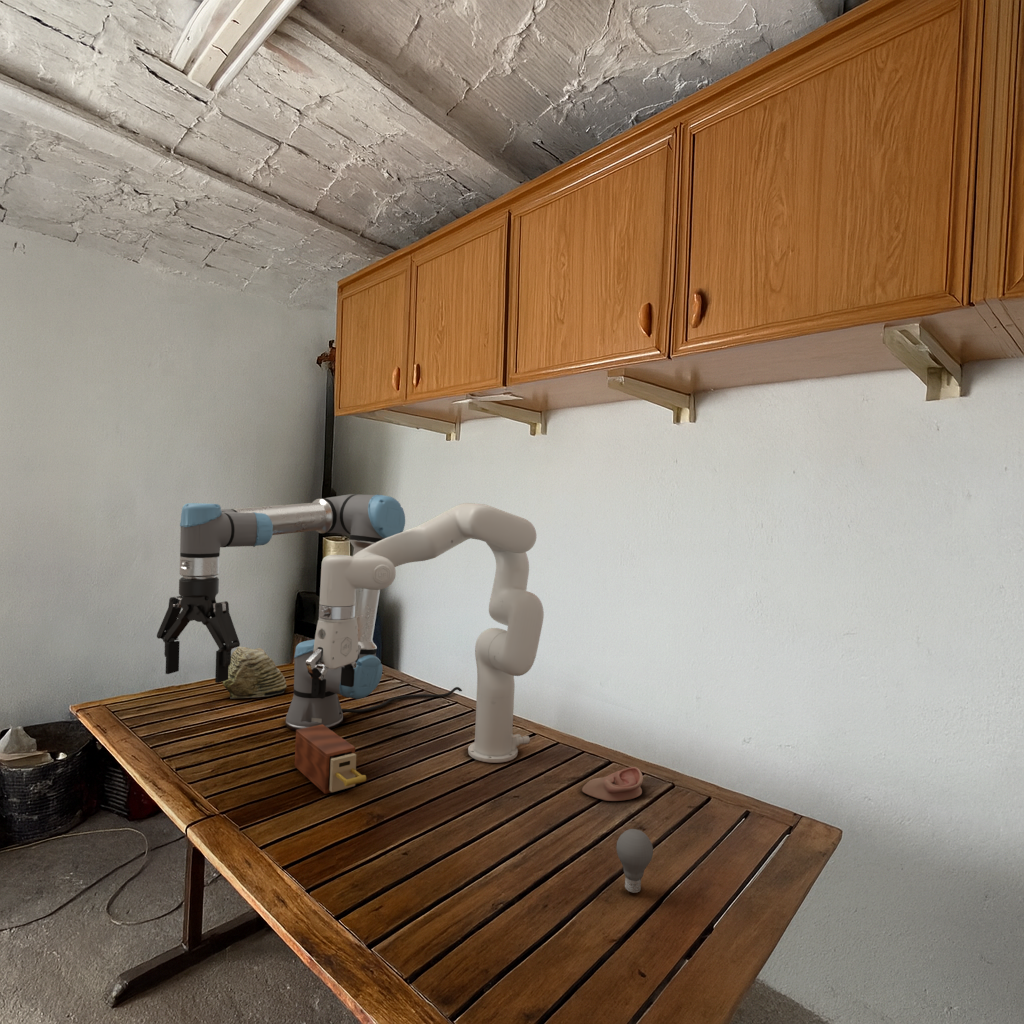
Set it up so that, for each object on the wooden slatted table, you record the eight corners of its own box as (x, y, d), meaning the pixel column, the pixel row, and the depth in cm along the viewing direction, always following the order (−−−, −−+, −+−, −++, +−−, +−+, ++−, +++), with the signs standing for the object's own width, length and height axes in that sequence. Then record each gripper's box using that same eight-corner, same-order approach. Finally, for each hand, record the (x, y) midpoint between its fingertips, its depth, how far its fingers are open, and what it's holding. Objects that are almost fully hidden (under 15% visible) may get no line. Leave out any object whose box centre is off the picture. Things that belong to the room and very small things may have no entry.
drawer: (367, 796, 133) (369, 763, 133) (343, 803, 130) (345, 770, 130) (324, 760, 150) (325, 732, 149) (302, 766, 146) (303, 736, 146)
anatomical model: (581, 779, 138) (585, 758, 149) (580, 797, 138) (585, 775, 149) (643, 787, 135) (643, 766, 147) (642, 806, 136) (642, 783, 147)
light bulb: (610, 879, 108) (613, 822, 108) (644, 879, 109) (647, 822, 109) (619, 902, 102) (622, 840, 102) (655, 901, 103) (658, 840, 103)
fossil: (218, 695, 195) (220, 647, 195) (278, 685, 208) (279, 640, 207) (228, 703, 189) (230, 653, 188) (289, 692, 201) (290, 645, 201)
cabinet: (353, 786, 139) (355, 747, 139) (325, 794, 135) (326, 754, 135) (321, 759, 152) (322, 724, 152) (294, 766, 148) (295, 729, 148)
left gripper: (139, 573, 134) (137, 673, 134) (232, 583, 125) (229, 689, 126) (169, 570, 141) (167, 664, 141) (259, 579, 132) (256, 680, 133)
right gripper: (325, 620, 127) (320, 705, 127) (375, 609, 143) (371, 684, 143) (295, 616, 130) (291, 699, 130) (347, 605, 146) (343, 679, 146)
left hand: (196, 676), depth 134 cm, fingers open, 13 cm apart
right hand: (333, 691), depth 137 cm, fingers open, 9 cm apart
